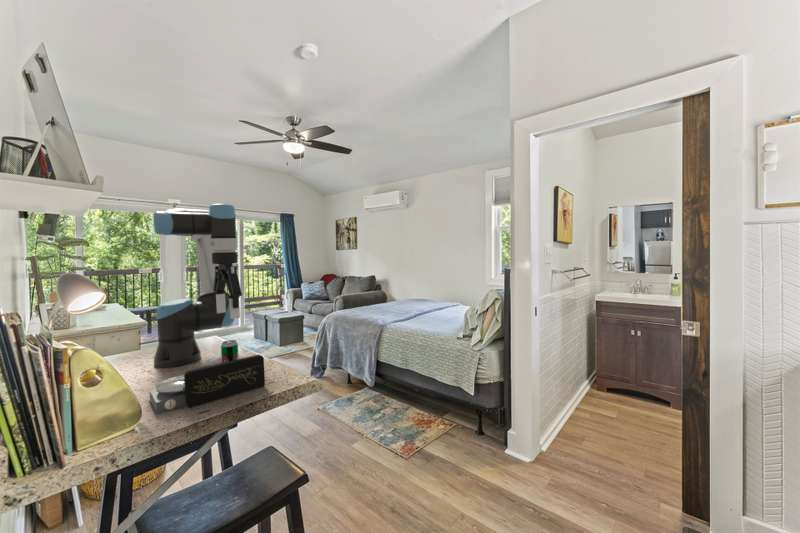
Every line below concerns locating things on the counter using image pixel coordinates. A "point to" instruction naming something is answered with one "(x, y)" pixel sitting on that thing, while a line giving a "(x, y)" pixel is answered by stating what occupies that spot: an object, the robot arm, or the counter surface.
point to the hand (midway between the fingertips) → (228, 315)
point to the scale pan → (171, 385)
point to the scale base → (166, 400)
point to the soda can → (229, 351)
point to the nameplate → (223, 380)
